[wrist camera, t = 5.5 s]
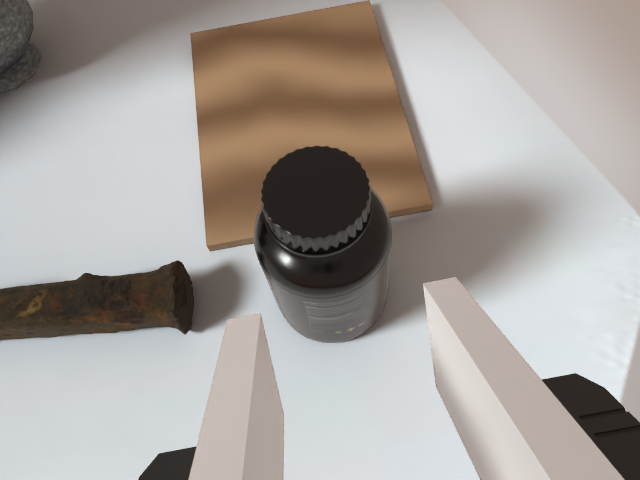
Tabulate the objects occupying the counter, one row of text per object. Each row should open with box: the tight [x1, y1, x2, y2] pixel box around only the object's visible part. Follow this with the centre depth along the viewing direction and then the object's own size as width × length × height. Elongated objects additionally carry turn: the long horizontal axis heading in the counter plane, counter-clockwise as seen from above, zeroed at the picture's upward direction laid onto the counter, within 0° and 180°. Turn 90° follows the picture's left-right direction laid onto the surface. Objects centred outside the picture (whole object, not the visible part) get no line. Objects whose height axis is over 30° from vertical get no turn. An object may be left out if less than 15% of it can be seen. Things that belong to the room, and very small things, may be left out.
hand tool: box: [0, 261, 194, 340], centre depth 33 cm, size 19×4×5 cm, turn 92°
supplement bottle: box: [254, 145, 392, 343], centre depth 28 cm, size 7×7×12 cm
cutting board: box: [191, 0, 433, 251], centre depth 40 cm, size 20×15×1 cm
